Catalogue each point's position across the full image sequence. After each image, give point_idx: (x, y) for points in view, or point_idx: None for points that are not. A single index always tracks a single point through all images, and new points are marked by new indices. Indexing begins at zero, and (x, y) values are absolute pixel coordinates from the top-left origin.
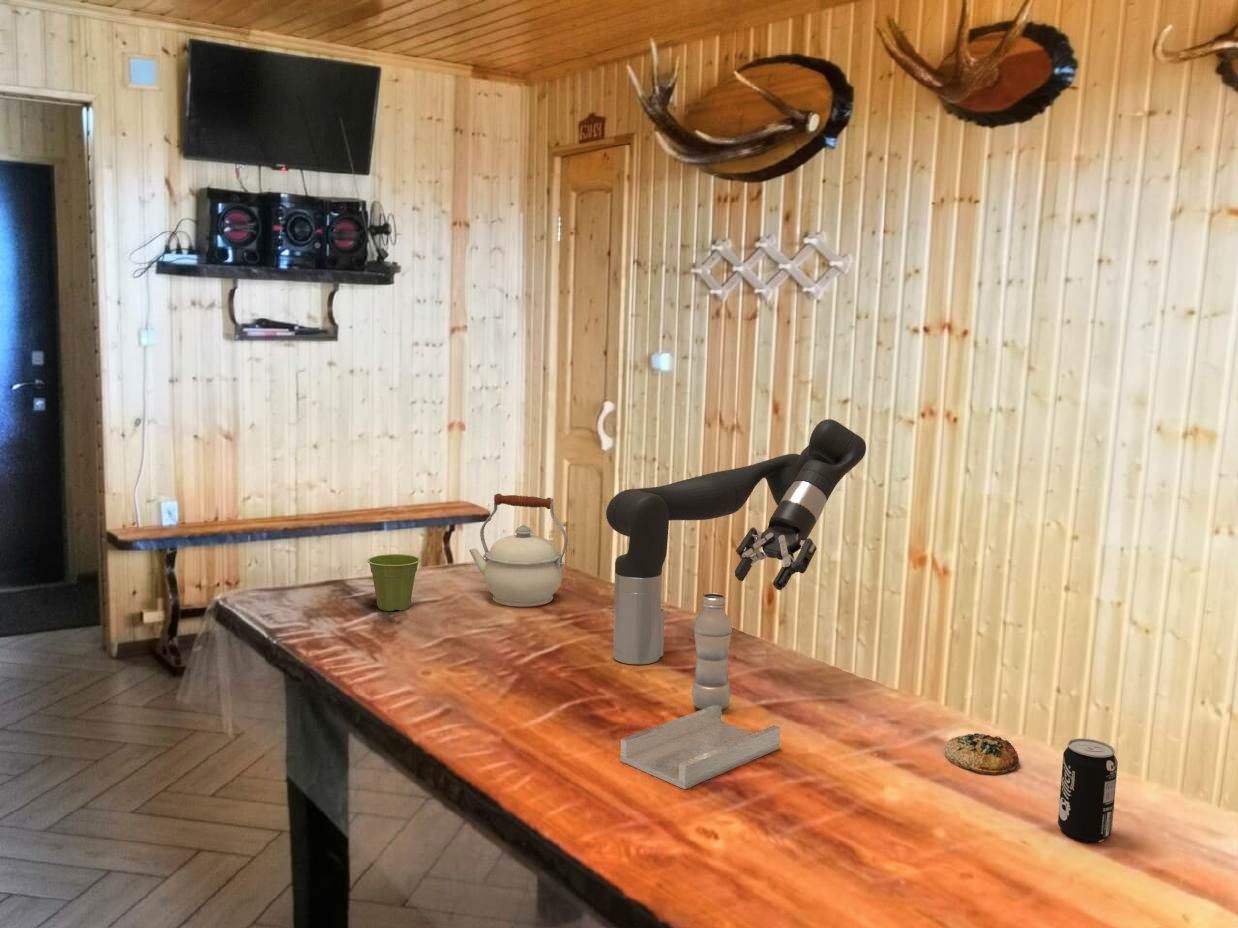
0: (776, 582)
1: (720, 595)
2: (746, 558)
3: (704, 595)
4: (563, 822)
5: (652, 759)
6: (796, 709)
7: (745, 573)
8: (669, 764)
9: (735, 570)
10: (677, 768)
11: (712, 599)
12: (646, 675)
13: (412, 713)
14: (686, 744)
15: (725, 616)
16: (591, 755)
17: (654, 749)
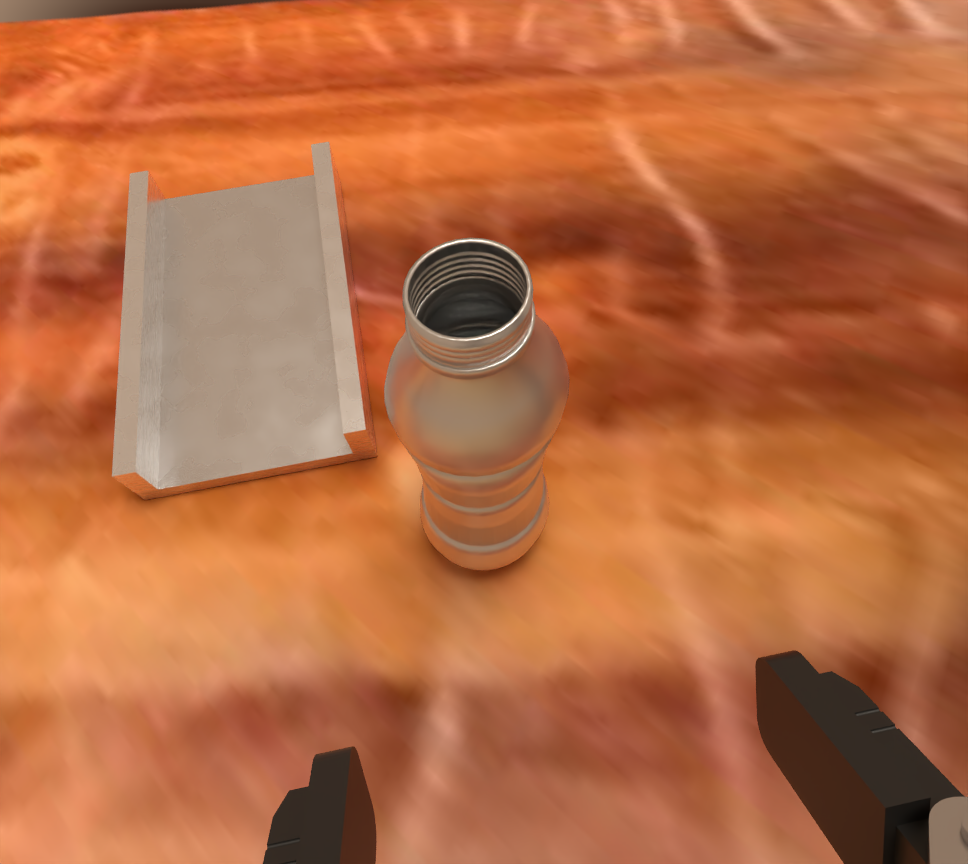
0: (315, 760)
1: (475, 339)
2: (927, 835)
3: (518, 263)
4: (210, 34)
5: (276, 206)
6: None
7: (800, 779)
8: (233, 219)
9: (853, 688)
10: (208, 222)
11: (425, 255)
12: (856, 522)
13: (771, 2)
14: (290, 298)
15: (410, 381)
16: (399, 155)
17: (315, 233)
